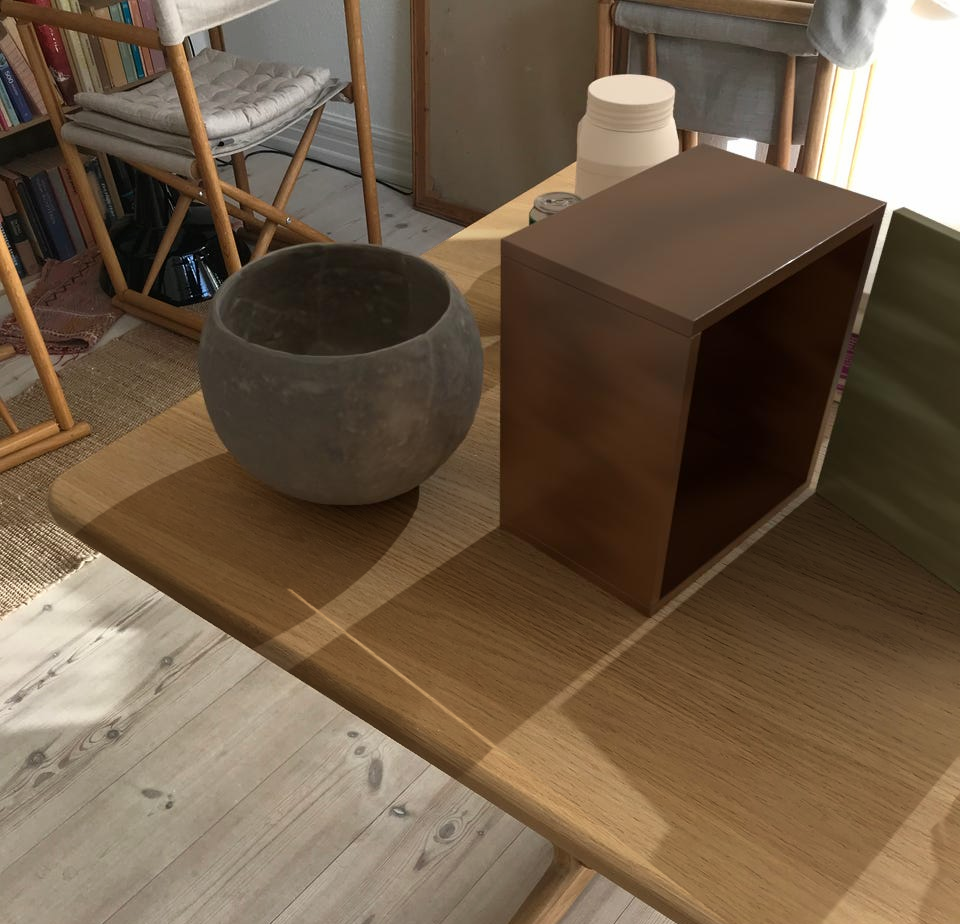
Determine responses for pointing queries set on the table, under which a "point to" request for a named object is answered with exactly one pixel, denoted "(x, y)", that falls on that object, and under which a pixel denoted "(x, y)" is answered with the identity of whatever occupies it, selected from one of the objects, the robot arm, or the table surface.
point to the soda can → (551, 204)
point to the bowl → (340, 370)
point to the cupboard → (673, 364)
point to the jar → (624, 131)
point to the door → (905, 401)
